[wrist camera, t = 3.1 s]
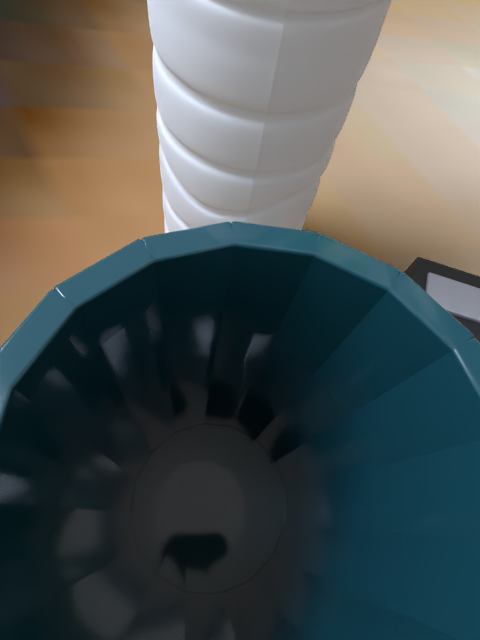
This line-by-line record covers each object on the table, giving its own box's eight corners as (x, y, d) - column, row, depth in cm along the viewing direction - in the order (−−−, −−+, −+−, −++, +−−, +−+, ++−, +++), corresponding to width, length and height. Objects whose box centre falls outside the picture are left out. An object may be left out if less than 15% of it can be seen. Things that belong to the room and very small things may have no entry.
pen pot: (317, 562, 16) (698, 695, 4) (144, 636, 14) (-64, 1228, 2) (258, 399, 18) (387, 189, 7) (107, 445, 16) (-80, 277, 5)
